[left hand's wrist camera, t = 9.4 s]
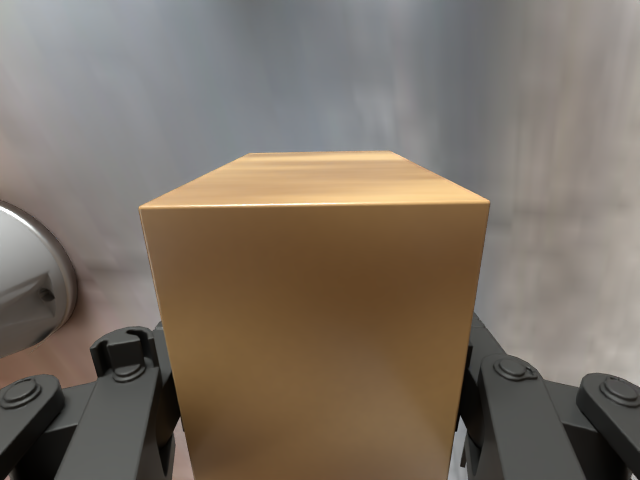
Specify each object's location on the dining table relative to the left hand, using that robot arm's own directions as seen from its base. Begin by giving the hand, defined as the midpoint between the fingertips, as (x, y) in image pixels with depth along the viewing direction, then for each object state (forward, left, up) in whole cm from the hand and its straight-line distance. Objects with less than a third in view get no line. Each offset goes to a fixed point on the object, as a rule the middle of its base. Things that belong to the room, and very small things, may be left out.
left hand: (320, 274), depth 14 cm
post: (+26, -19, 0) cm, 32 cm away
